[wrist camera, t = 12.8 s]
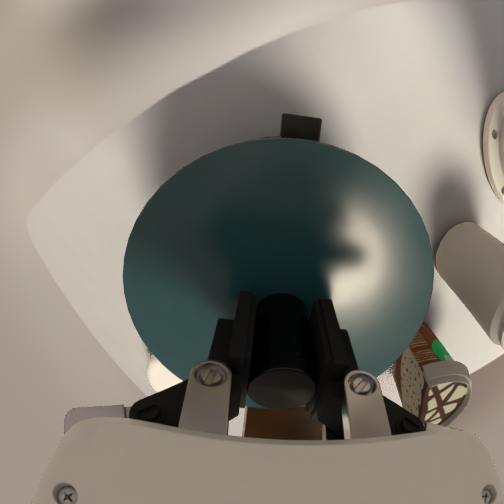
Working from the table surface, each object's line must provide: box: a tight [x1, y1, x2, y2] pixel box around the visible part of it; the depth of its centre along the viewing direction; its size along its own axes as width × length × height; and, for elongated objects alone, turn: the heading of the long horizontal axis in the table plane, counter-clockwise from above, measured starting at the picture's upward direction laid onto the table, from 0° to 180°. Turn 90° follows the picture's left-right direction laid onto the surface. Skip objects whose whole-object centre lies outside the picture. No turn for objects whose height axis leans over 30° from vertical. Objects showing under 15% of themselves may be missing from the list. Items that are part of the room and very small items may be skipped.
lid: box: [123, 138, 434, 410], centre depth 11 cm, size 15×15×5 cm
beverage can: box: [436, 222, 504, 349], centre depth 18 cm, size 6×6×12 cm
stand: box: [242, 406, 322, 440], centre depth 23 cm, size 10×10×18 cm
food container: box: [393, 322, 472, 427], centre depth 24 cm, size 12×6×10 cm, turn 17°
